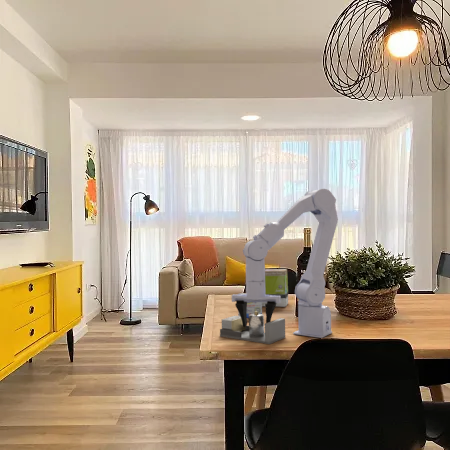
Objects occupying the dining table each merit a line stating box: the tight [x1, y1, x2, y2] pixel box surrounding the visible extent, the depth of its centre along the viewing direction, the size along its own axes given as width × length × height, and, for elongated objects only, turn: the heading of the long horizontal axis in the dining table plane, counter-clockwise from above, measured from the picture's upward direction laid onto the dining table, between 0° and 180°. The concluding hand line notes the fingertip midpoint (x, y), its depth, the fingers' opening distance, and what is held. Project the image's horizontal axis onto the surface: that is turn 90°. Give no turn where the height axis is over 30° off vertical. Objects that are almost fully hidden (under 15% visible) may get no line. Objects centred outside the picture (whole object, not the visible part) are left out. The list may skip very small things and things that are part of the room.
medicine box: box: [237, 292, 263, 319], centre depth 169 cm, size 8×4×9 cm, turn 105°
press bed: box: [219, 317, 286, 345], centre depth 139 cm, size 18×9×6 cm, turn 53°
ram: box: [221, 315, 246, 332], centre depth 143 cm, size 4×7×4 cm, turn 143°
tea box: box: [262, 268, 289, 308], centre depth 193 cm, size 15×10×15 cm
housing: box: [248, 312, 265, 337], centre depth 138 cm, size 4×4×7 cm
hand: (256, 326), depth 138 cm, fingers open, 6 cm apart
